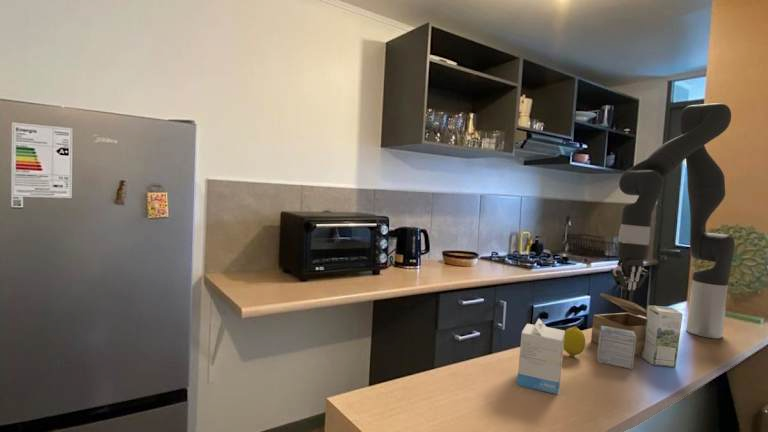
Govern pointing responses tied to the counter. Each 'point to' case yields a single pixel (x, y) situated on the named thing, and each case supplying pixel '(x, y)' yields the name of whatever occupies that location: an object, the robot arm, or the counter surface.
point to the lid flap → (626, 305)
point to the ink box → (541, 357)
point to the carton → (621, 326)
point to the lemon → (574, 341)
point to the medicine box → (616, 347)
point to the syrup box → (662, 335)
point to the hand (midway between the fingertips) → (626, 302)
